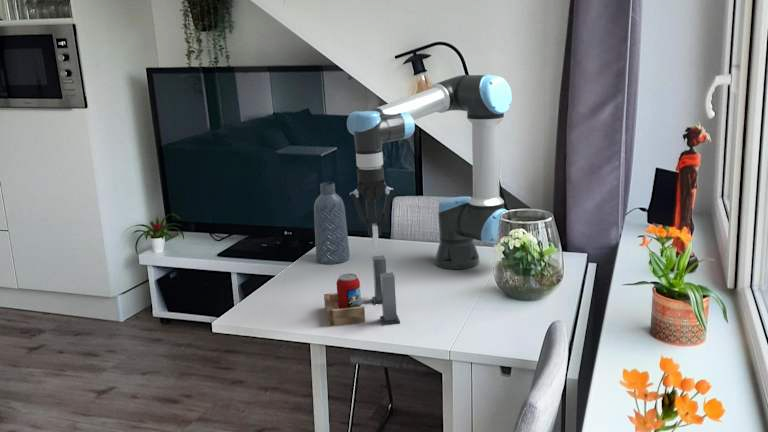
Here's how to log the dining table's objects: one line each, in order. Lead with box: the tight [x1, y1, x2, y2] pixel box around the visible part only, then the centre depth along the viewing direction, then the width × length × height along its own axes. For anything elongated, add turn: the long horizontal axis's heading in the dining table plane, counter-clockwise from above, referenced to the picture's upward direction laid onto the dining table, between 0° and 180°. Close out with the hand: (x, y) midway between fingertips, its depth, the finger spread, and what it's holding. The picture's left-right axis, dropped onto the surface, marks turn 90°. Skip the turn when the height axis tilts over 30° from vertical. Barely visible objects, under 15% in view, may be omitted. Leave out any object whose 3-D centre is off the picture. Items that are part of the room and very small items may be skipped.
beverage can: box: [336, 273, 362, 309], centre depth 223 cm, size 7×7×12 cm
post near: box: [379, 272, 401, 326], centre depth 216 cm, size 5×5×14 cm
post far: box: [372, 255, 387, 305], centre depth 232 cm, size 5×5×14 cm
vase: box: [313, 181, 350, 265], centre depth 274 cm, size 12×12×28 cm
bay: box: [323, 292, 366, 327], centre depth 224 cm, size 10×14×4 cm
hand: (375, 246), depth 221 cm, fingers closed
